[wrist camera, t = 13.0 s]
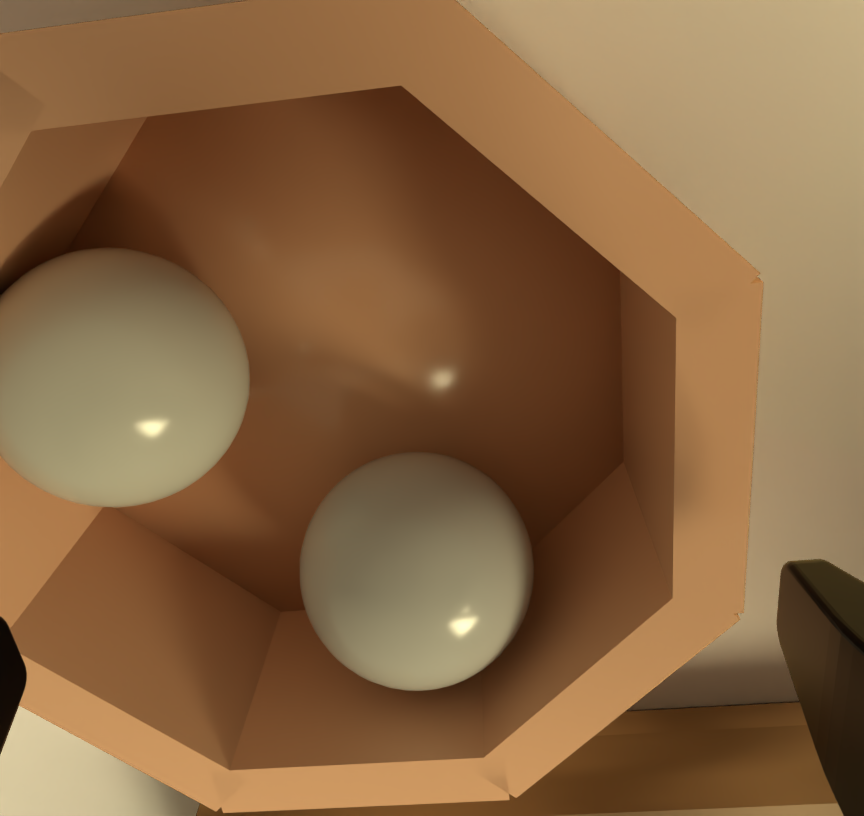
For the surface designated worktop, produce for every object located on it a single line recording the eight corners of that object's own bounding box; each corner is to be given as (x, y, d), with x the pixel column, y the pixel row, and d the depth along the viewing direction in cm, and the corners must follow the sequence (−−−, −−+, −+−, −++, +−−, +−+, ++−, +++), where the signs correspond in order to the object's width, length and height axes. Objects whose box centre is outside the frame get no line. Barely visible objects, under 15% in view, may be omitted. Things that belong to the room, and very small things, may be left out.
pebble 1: (254, 313, 9) (-45, 194, 9) (154, 586, 10) (-130, 480, 10) (303, 301, 13) (89, 215, 13) (229, 503, 13) (23, 423, 13)
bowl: (670, -36, 11) (783, -72, 7) (665, 597, 16) (732, 789, 12) (-69, 62, 12) (-335, 78, 8) (129, 631, 17) (22, 821, 13)
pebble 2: (481, 599, 9) (617, 530, 12) (298, 420, 11) (454, 395, 14) (369, 785, 11) (512, 685, 14) (223, 604, 13) (377, 548, 15)
